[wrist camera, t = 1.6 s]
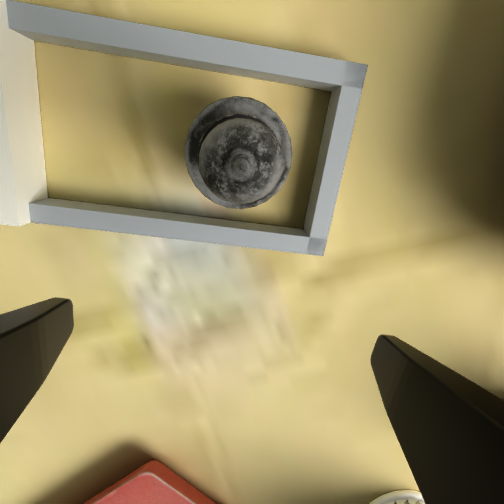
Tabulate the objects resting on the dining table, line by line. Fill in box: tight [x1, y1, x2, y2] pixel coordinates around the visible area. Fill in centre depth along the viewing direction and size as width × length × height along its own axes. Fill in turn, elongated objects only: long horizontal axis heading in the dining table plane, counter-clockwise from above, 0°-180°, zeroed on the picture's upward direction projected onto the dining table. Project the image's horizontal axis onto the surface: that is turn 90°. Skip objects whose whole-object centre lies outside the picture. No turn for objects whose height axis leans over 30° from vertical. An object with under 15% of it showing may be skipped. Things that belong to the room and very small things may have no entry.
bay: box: [0, 0, 368, 256], centre depth 18 cm, size 20×11×3 cm, turn 82°
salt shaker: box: [185, 96, 292, 209], centre depth 14 cm, size 6×6×12 cm
